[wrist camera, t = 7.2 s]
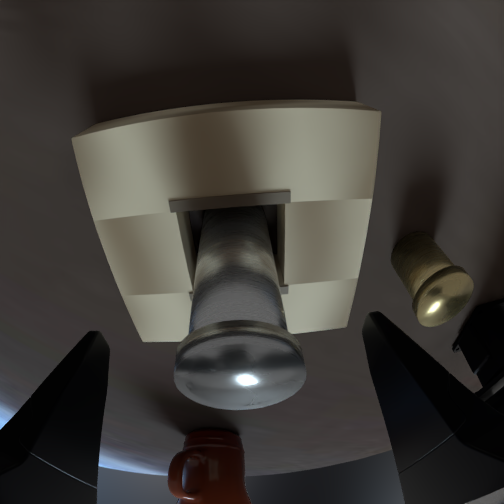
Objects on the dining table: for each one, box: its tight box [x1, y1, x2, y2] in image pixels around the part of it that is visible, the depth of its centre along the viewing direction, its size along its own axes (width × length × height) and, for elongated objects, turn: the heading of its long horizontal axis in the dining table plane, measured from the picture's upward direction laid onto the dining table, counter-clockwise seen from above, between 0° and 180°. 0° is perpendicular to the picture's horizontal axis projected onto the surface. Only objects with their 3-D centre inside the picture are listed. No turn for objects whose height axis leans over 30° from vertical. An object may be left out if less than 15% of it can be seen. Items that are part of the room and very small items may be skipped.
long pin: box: [174, 205, 306, 410], centre depth 12 cm, size 4×4×9 cm
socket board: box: [71, 100, 381, 342], centre depth 14 cm, size 12×12×3 cm
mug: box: [168, 428, 252, 504], centre depth 27 cm, size 12×9×10 cm
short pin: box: [391, 232, 474, 327], centre depth 15 cm, size 4×4×5 cm
